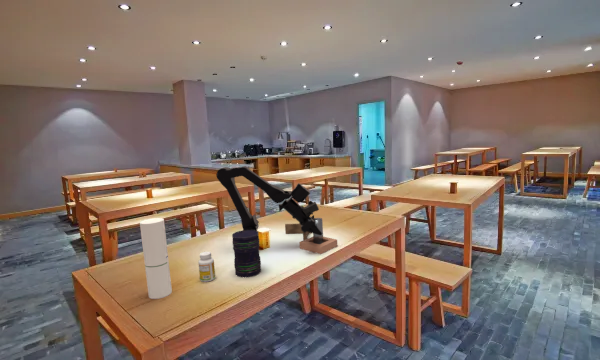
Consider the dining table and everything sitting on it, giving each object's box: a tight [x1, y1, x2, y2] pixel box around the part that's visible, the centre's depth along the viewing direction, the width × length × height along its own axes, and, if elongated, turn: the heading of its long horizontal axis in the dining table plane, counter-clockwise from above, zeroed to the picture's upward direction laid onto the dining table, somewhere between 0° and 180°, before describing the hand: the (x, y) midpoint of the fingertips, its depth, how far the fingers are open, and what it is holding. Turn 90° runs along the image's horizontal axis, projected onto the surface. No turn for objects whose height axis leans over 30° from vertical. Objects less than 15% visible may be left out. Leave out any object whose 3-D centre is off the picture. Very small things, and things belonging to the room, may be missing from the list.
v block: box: [284, 223, 312, 241], centre depth 163 cm, size 10×16×5 cm, turn 40°
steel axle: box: [312, 217, 324, 244], centre depth 142 cm, size 4×4×13 cm
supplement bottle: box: [197, 251, 216, 283], centre depth 115 cm, size 5×5×10 cm
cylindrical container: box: [139, 217, 173, 300], centre depth 105 cm, size 7×7×25 cm
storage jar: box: [231, 229, 262, 279], centre depth 119 cm, size 10×10×15 cm
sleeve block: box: [299, 236, 338, 255], centre depth 143 cm, size 12×12×3 cm
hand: (321, 232), depth 142 cm, fingers closed on steel axle, 4 cm apart
